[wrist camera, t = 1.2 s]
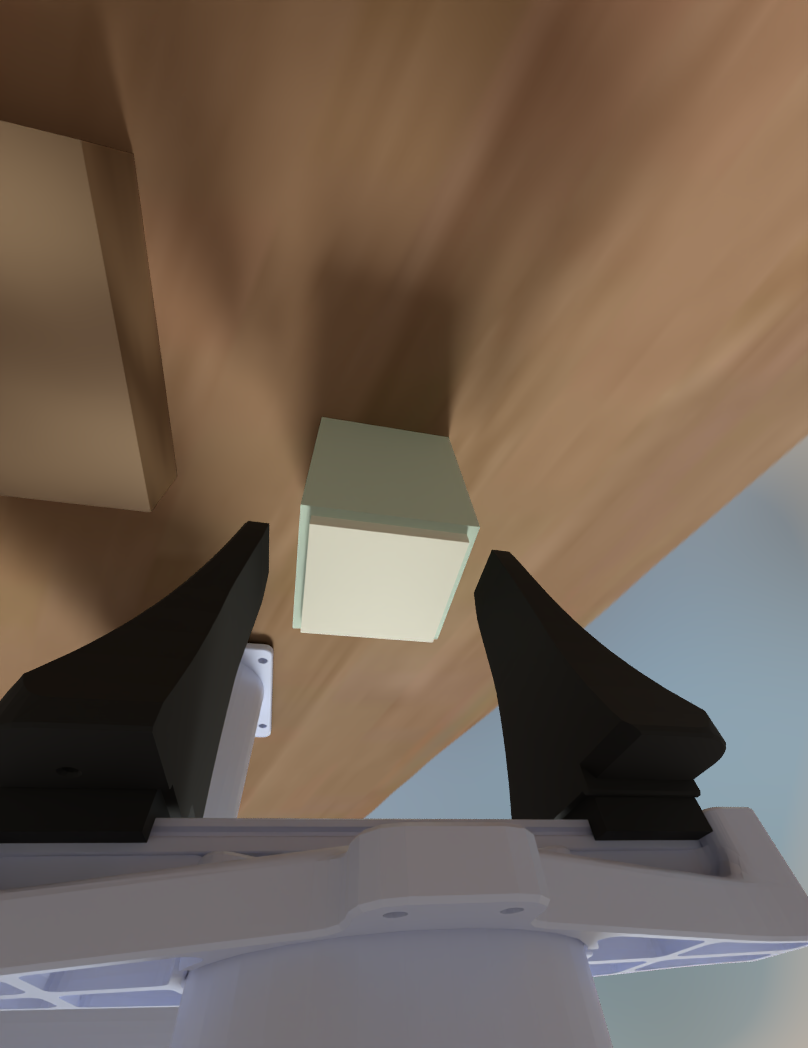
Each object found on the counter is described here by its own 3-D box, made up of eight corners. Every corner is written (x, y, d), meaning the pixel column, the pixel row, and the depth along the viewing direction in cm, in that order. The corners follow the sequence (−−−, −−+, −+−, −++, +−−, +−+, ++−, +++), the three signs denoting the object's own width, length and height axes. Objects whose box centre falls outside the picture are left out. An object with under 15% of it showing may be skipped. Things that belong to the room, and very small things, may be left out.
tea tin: (421, 534, 20) (438, 648, 14) (312, 521, 19) (290, 637, 14) (448, 436, 17) (482, 535, 12) (321, 416, 16) (298, 513, 11)
